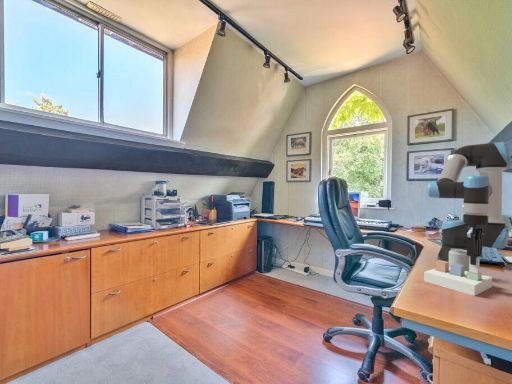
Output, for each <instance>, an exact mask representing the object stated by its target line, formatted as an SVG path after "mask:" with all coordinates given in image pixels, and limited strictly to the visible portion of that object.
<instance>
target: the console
mask: <svg viewBox="0 0 512 384" xmlns="http://www.w3.org/2000/svg"><path fill="white" fill-rule="evenodd" d="M467 272H468V271H464V276H463V277H460V276H456V275H452V274H450V267H449V272H447V273H444V272H440V271H436V270H435V268H432V269H428V270H425V271H424V273H423V281H424V282H426V283H430V284H433V285H437V286H440V287H442V288H443V287H444V288H446V289H450V290H452V291H456V292H460V293H463V294H466V295H470V296H474V297H475V296H477V295H479V294H481V293H483V292H486V291H487V290H489V289H490V288H493V277H492V276H489V275H483V274H482V280H481V281H475V280H471V279H468V278H467Z"/></svg>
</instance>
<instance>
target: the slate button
mask: <svg viewBox="0 0 512 384" xmlns="http://www.w3.org/2000/svg"><path fill="white" fill-rule="evenodd" d="M464 271H465V266H464V265H460V264H455V263H453V264H450V274H452V275H456V276H460V277H463V276H464Z"/></svg>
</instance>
